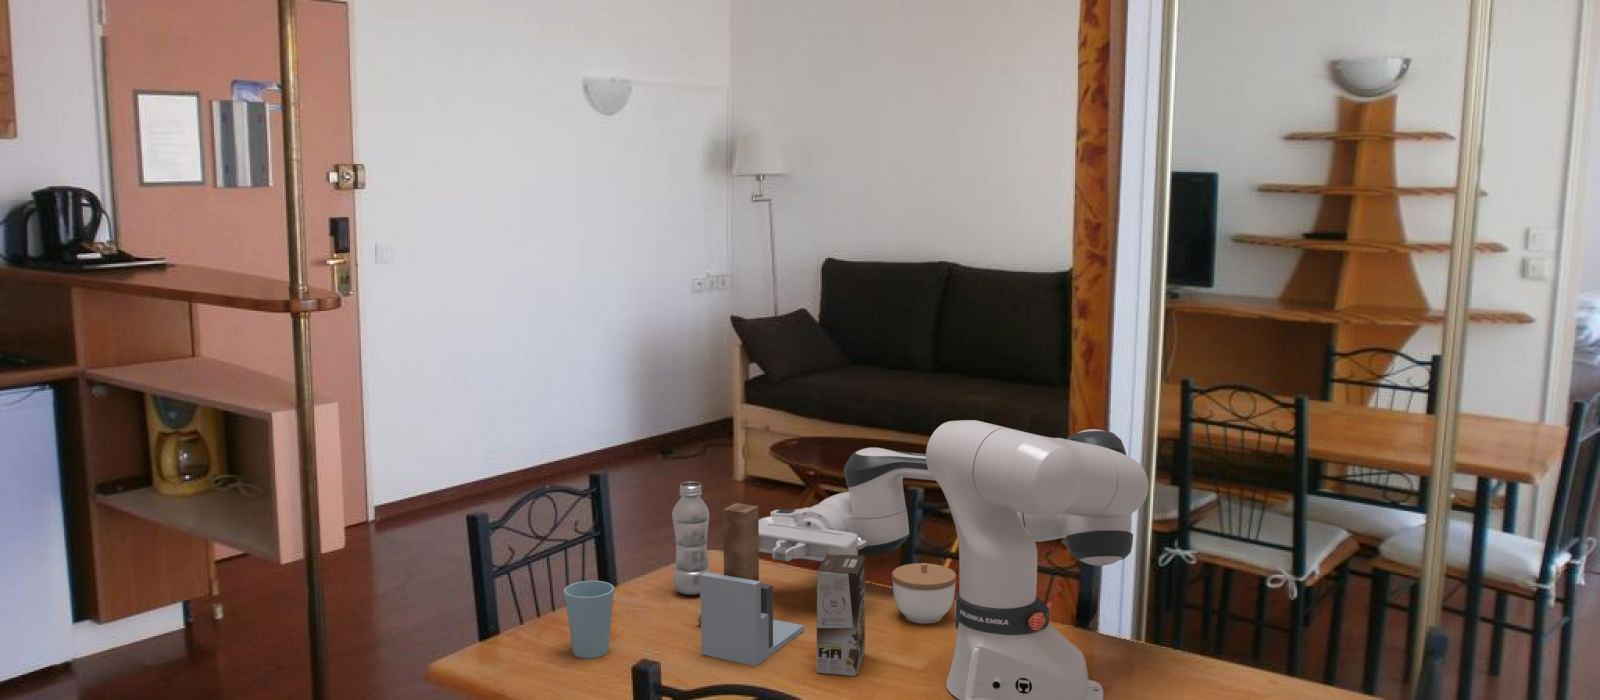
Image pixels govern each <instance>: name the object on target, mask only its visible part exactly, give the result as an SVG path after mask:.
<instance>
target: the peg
mask: <svg viewBox="0 0 1600 700" xmlns="http://www.w3.org/2000/svg"><path fill="white" fill-rule="evenodd" d="M759 512H760V511H759V505H751V504H746V503H739V502H736V503H734V504H731V505H729V506H727V507H725V508H723V511H722V515H723V516H722V520H723V523H722V526H723V527H722V529H723V530H722V531H723V534H722V535H723V539H722V540H723V575H726V576H732V577H738V578H743V579H749V580H755V581H760V562H759V561H760V554H759V553H760V552H759V519H760V518H759V516H760V515H759Z"/></svg>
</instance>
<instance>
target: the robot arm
mask: <svg viewBox="0 0 1600 700" xmlns="http://www.w3.org/2000/svg"><path fill="white" fill-rule="evenodd" d="M926 445H927V446H926V449H925V451H926V452H925V453H915V452H906V451H899V450H894V449H888V448H887V449H886V448H882V447H866V448H862V449H859V450H855V451H854V452H853V453H852V454H851V456H850V457H849V459H848V460H847V461H846V463H845V465H844V467H843V474H844V477H845V482H846V486H847V488H848V491H844V492H840V493H837V494H833V495H831V496H829V497H827V498H825V499H823V500H822V501H820V502H819V503H818V504H814V505H812V506H810V507H804V508H803V507H802V508H798V509H774V510H772V511H770V516H765V517H762V518H759V553H766V554H771V557H772V560H779V561H785V562H789V561H791V560H794V559H802V560H803V559H804V560H810V561H817V562H821V563H822V562H823V560H824V558H825V557H826V555H827V554H832V555H858V554H860V555H863V556H866V555H867V556H876V555H883V554H887V553H889V552H892V551H894V550H896V549H898V548H900V547H901V545H903V543H904V542H906V541H907V539H908V538H909V536H910V529H909V528H910V526H909V517H908V511H907V506H906V501H905V492H904V485H903V484H904V483H903V479H904V478H905V479H906V478H908V479H917V480H925V481H926V480H929V481H936V482H937V484H938V485H939V487H940V488H941V489H940V490H942V492H943V494H944V497H945V499H946V501H947V504H948V507H949V510H950V513H951V517H952V519H953V522H954V526H955V530H956V536H957V542H958V552H959V553H958V558H959V563H958V564H959V572H958V573H959V577H958V578H959V584H958V586H959V589H958V590H959V591H957V592H956V597H955V598H956V599H955V605H954V606H955V608H954V620H955V629H956V637H955V638H956V639H955V647H954V652H953V659H952V662H951V665H950V670H949V673H948V676H947V679H946V683H945V686H946V689H947V690H948V692H949V693H950V695H953V697H955V698H956V699H958V700H1104V697H1105V696H1104V689H1103V687H1102V685H1101V684H1100V683H1099V682H1098V681H1096V680H1093V679H1092V680H1091V679H1089V674H1088V668H1087V661H1086V658H1085V656H1084V653H1083V652H1082V651H1081V650H1080V649H1079V648H1078V647H1077V646H1076V645H1075V644H1073V643H1072V642H1071V641H1069V639H1067V638H1066V637H1065V636H1064V635H1062V634H1061V633H1060V632H1059V631H1058V630H1056V628H1055V627H1054V626H1052V625H1051V624H1050V612H1051V610H1052V601H1049V602H1048V603H1047V604H1045V603H1044V601H1043V600H1041V599H1040V597H1039V596H1038V595H1037V583H1038V582H1037V580H1038V579H1037V578H1038V577H1037V576H1038V575H1037V574H1038V548H1037V544H1036V542H1046V541H1053V540H1058V539H1062V538H1063V539H1062V540H1061V541H1060V542H1061V544H1062V546H1066V548H1067V550H1068V552H1069V554H1070V555H1071V556H1072V557H1073V558H1074V559H1075V560H1076V561H1078V562H1083V563H1085V564H1087V565H1091V566H1098V567H1099V566H1100V567H1101V566H1103V567H1104V566H1109V565H1113V564H1116V563H1117V562H1119V561H1123V560H1125V559H1126V558H1127V557H1128V556H1129V555H1130V554H1131V552H1132V548H1133V540H1134V534H1133V533H1132V525H1133V524H1132V523H1133V522H1132V519H1133V518H1132V515H1133V513H1135V512H1136V511H1138V510H1139V509H1140V508H1141V507H1142V505H1143V504H1144V503H1145V501H1146V499H1147V496H1148V493H1149V479H1148V476H1147V473H1146V471H1145V468H1143V466H1142V465H1141V464H1140V463H1139V462H1138V461H1136V460H1135V459H1133V457H1132V458H1131V457H1130V456H1128V455H1127V452H1126V448H1125V446H1124V443H1123V441H1122V439H1121V438H1120V437H1118V435H1116V433H1114V432H1111V431H1108V430H1104V429H1096V428H1095V429H1094V428H1092V429H1091V428H1090V429H1085V430H1081V431H1078V432H1076V433H1072V434H1070V435H1069V436H1068V437H1067V438H1066V439H1065V438H1062V437H1049V436H1044V435H1039V434H1035V433H1030V432H1026V431H1022V430H1018V429H1013V428H1010V427H1005V426H1001V425H997V424H994V423H988V422H984V421H980V420H976V419H972V420H969V419H967V420H966V419H963V420H961V419H960V420H950V421H946V422H944V423H942V424H940V425H939V426H938V427H937V428H936V429H935V430H934V431H933V433H932V434H931V436H930V438H929V439H928V443H927V444H926Z"/></svg>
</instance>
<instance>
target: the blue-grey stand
mask: <svg viewBox="0 0 1600 700" xmlns="http://www.w3.org/2000/svg"><path fill="white" fill-rule="evenodd" d="M700 577H701V594H700V595H701V601H700V614H701V624H700V628H701V629H700V634H701V635H700V636H701V637H700V639H701V640H700V641H701V649H700V650H701V651H700V652H701V653H700V654H701V655H702V654H703V656H705V655H707V657H710V656H712V657H711V658H715V657H716V659H721V660H724V659H725V660H726V661H729V662H735V663H740V664H744V665H749V666H754V667H757V666H758V664H759V665H760V664H761V663H763V662H764V661H765V660H766V659H768V658H770V657H771V656H772V655H773V654H775V653H776V652H777V650H778V651H779V650H780V649H782V648H783V647H784V646H786V645H787V644H789V643H790V642H791V641H793V640H794V639H795V638H797V637H798V636H800V635H801V634H802V633H803V632H804V631H805V629H804V628H805V626H804V625H803V624H798V623H793V622H788V621H783V620H777V619H774V584H769V583H762V581H760V580H759V581H755V580H749V579H743V578H738V577H732V576H726V575H724V574H720V573H714V572H710V573H709V572H705V573H703V574H701V575H700ZM801 632H802V633H801ZM800 633H801V634H800ZM793 638H794V639H793ZM781 647H782V648H781ZM725 660H724V661H725ZM762 661H763V662H762Z"/></svg>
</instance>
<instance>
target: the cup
mask: <svg viewBox="0 0 1600 700" xmlns="http://www.w3.org/2000/svg"><path fill="white" fill-rule="evenodd" d="M614 590H615V586H614V585H613V584H611V583H610V582H606V581H601V580H583V581H578V582H573V583H571V584H569V585H567V586H566V587H565V588H564V589H563V594H564V600H565V604H566V605H565V606H566V607H565V608H566V612H567V613H566V614H567V620H568V627H569V632H570V633H569V634H570V641H571V648H572V655H574V656H575V657H577V658H579V659H596V658H601V657H603V656H605V655H607V654H608V653H609V649H610V648H609V646H610V635H611V625H612V624H611V623H612V614H613V613H612V612H613V601H614V593H615V592H614Z"/></svg>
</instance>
